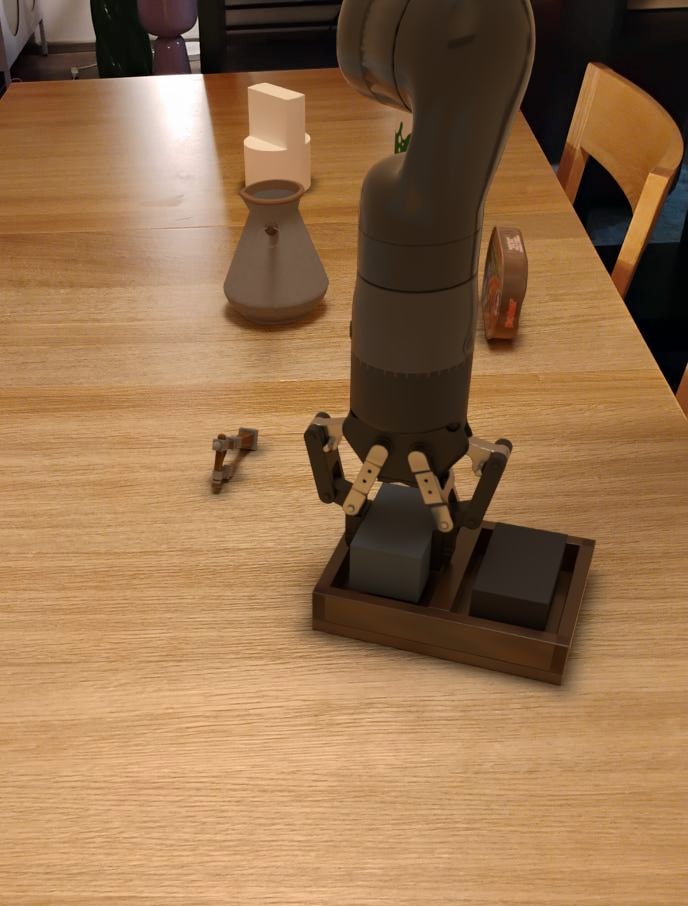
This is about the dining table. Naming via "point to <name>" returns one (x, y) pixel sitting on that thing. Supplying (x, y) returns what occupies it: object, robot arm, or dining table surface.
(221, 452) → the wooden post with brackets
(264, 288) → the coffee pot
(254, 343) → the dining table surface
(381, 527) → the pad
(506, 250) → the tin
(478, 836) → the dining table surface
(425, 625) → the divided wooden tray
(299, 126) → the cylinder with rectangular tab
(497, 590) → the dark brown rectangular block
